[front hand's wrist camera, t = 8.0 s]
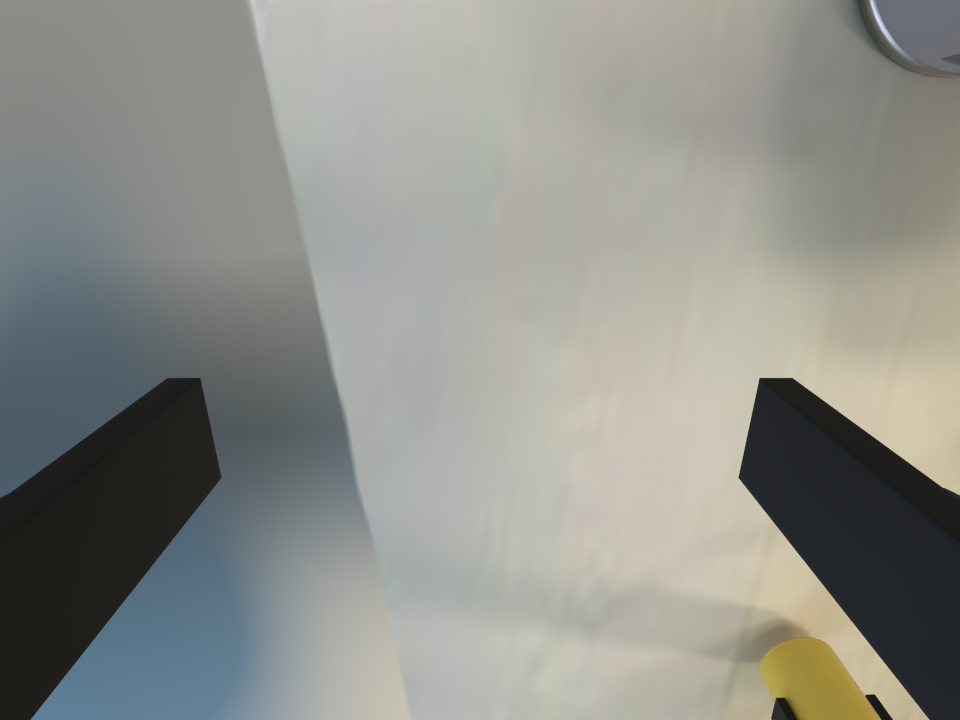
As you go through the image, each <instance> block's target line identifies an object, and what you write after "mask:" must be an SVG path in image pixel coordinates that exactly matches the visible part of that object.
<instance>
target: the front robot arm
mask: <svg viewBox="0 0 960 720" xmlns="http://www.w3.org/2000/svg"><path fill="white" fill-rule="evenodd" d="M857 1H858V5H859V9H860V12H861V15H862V18H863V21H864V23H865V25H866V28H867V30H868V32H869V34H870V35H871V37H872V38H873V40H874V41H875V43H876V44H877V45H878V46H879V48H880V49H881V50H882V51H883V52H884V53H885V54H886V55H887V56H888V57H889V58H890V59H892V60H893V61H895V62H896V63H897V64H899V65H901V66H902V67H904V68H906V69H908V70H911V71H913V72H916V73H919V74H923V75H927V76H934V77H958V76H960V0H857ZM220 479H221V474H220V469H219V464H218V460H217V455H216V450H215V446H214V441H213V436H212V431H211V426H210V422H209V417H208V412H207V407H206V403H205V398H204V393H203V389H202V384H201V379H200V378H167V379H166V380H164V381H163V382H162V383H160V384H159V385H158V386H156V387H155V388H153V389H152V390H151V391H149V392H148V393H147V394H145V395H144V396H143V397H141V398H140V399H138V400H137V401H136V402H134V403H133V404H132V405H130V406H129V407H127V408H126V409H125V410H123V411H122V412H121V413H119V414H118V415H116V416H115V417H114V418H112V419H111V420H110V421H108V422H107V423H105V424H104V425H103V426H101V427H100V428H99V429H97V430H96V431H95V432H93V433H92V434H90V435H89V436H88V437H86V438H85V439H84V440H82V441H81V442H79V443H78V444H77V445H75V446H74V447H73V448H71V449H70V450H68V451H67V452H66V453H64V454H63V455H62V456H60V457H59V458H58V459H56V460H55V461H54V462H52V463H51V464H49V465H48V466H47V467H45V468H44V469H42V470H41V471H40V472H38V473H37V474H36V475H34V476H33V477H32V478H30V479H29V480H27V481H26V482H25V483H23V484H22V485H21V486H19V487H18V488H16V489H15V490H14V491H12V492H11V493H9V494H7V495H5V496H3V497H1V498H0V720H31V718H32V717H33V716H34V715H35V713H36V712H37V711H38V709H39V708H40V707H41V706H42V704H43V703H44V702H45V701H46V699H47V698H48V697H49V696H50V694H51V693H52V692H53V690H54V689H55V688H56V687H57V685H58V684H59V683H60V682H61V680H62V679H63V678H64V676H65V675H66V674H67V673H68V671H69V670H70V669H71V668H72V666H73V665H74V664H75V663H76V661H77V660H78V659H79V658H80V656H81V655H82V654H83V652H84V651H85V650H86V649H87V647H88V646H89V645H90V644H91V642H92V641H93V640H94V639H95V637H96V636H97V635H98V633H99V632H100V631H101V630H102V628H103V627H104V626H105V624H106V623H107V622H108V621H109V620H110V618H111V617H112V616H113V614H114V613H115V612H116V611H117V609H118V608H119V607H120V606H121V604H122V603H123V602H124V601H125V599H126V598H127V597H128V595H129V594H130V593H131V592H132V590H133V589H134V588H135V587H136V585H137V584H138V583H139V582H140V580H141V579H142V578H143V576H144V575H145V574H146V573H147V571H148V570H149V569H150V568H151V566H152V565H153V564H154V562H155V561H156V560H157V559H158V557H159V556H160V555H161V554H162V552H163V551H164V550H165V548H166V547H167V546H168V545H169V544H170V542H171V541H172V540H173V538H174V537H175V536H176V535H177V533H178V532H179V531H180V530H181V528H182V527H183V526H184V524H185V523H186V522H187V521H188V519H189V518H190V517H191V516H192V514H193V513H194V512H195V511H196V509H197V508H198V507H199V505H200V504H201V503H202V502H203V500H204V499H205V498H206V497H207V495H208V494H209V493H210V492H211V490H212V489H213V488H214V486H215V485H216V484H217V483H218V481H219V480H220ZM739 479H740V480H741V481H742V483H743V484H744V485H745V486H746V488H747V489H748V490H749V492H750V493H751V494H752V495H753V497H754V498H755V499H756V500H757V502H758V503H759V504H760V505H761V507H762V508H763V509H764V511H765V512H766V513H767V514H768V516H769V517H770V518H771V519H772V521H773V522H774V523H775V525H776V526H777V527H778V528H779V530H780V531H781V532H782V533H783V535H784V536H785V537H786V538H787V540H788V541H789V542H790V544H791V545H792V546H793V547H794V549H795V550H796V551H797V552H798V554H799V555H800V556H801V557H802V559H803V560H804V561H805V563H806V564H807V565H808V566H809V568H810V569H811V570H812V571H813V573H814V574H815V575H816V576H817V578H818V579H819V580H820V582H821V583H822V584H823V585H824V587H825V588H826V589H827V590H828V592H829V593H830V594H831V595H832V597H833V598H834V599H835V601H836V602H837V603H838V604H839V606H840V607H841V608H842V609H843V611H844V612H845V613H846V614H847V616H848V617H849V618H850V620H851V621H852V622H853V623H854V625H855V626H856V627H857V628H858V630H859V631H860V632H861V633H862V635H863V636H864V637H865V639H866V640H867V641H868V642H869V644H870V645H871V646H872V647H873V649H874V650H875V651H876V652H877V654H878V655H879V656H880V658H881V659H882V660H883V661H884V663H885V664H886V665H887V666H888V668H889V669H890V670H891V671H892V673H893V674H894V675H895V677H896V678H897V679H898V680H899V682H900V683H901V684H902V685H903V687H904V688H905V689H906V690H907V692H908V693H909V694H910V696H911V697H912V698H913V699H914V701H915V702H916V703H917V704H918V706H919V707H920V708H921V709H922V711H923V712H924V713H925V715H926V716H927V717H928V718H929V720H960V495H958V494H956V493H954V492H952V491H950V490H947V489H945V488H942V487H941V486H939V485H938V484H937V483H935V482H934V481H933V480H931V479H930V478H929V477H927V476H926V475H924V474H923V473H922V472H920V471H919V470H918V469H916V468H915V467H913V466H912V465H911V464H909V463H908V462H907V461H905V460H904V459H902V458H901V457H900V456H898V455H897V454H896V453H894V452H893V451H892V450H890V449H889V448H887V447H886V446H885V445H883V444H882V443H881V442H879V441H878V440H876V439H875V438H874V437H872V436H871V435H870V434H868V433H867V432H865V431H864V430H863V429H861V428H860V427H859V426H857V425H856V424H855V423H853V422H852V421H850V420H849V419H848V418H846V417H845V416H844V415H842V414H841V413H839V412H838V411H837V410H835V409H834V408H833V407H831V406H830V405H828V404H827V403H826V402H824V401H823V400H822V399H820V398H819V397H818V396H816V395H815V394H813V393H812V392H811V391H809V390H808V389H807V388H805V387H804V386H802V385H801V384H800V383H798V382H797V381H796V380H794V379H793V378H760V379H759V384H758V389H757V393H756V398H755V403H754V407H753V412H752V417H751V422H750V426H749V431H748V436H747V441H746V445H745V450H744V455H743V459H742V464H741V469H740V474H739Z"/></svg>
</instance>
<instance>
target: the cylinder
mask: <svg viewBox="0 0 960 720" xmlns="http://www.w3.org/2000/svg"><path fill="white" fill-rule="evenodd" d="M760 675H761V677H762V679H763V681H764V683H765V685H766V687H767V689H768V691H769V692H770V694H771V696H772V698H773V700H774V702H775V700H776V698H784V697H785V699H786V701H787V702H788V704H789V706H790V708H791V710H792V712H793V713H794V715H795V717H796V719H797V720H882V719H881V718H880V716H879V715H878V714H877V712H876V711H875V709H874V708H873V706H872V705H871V704H870V702H869V701H868V699H867V698H866V696H865V695H864V694H863V692H862V691H861V689H860V688H859V686H858V685H857V684H856V682H855V681H854V679H853V678H852V676H851V675H850V674H849V672H848V671H847V669H846V668H845V666H844V665H843V663H842V662H841V661H840V659H839V658H838V656H837V655H836V653H835V652H834V651H833V649H832V648H831V647H830V646H829V645H828V644H827V643H825V642H824V641H821V640H819V639H815V638H806V637H804V638H795V639H790V640H787V641H784V642H782V643H780V644H778V645H776V646H775V647H773V648H772V649H771V650H770V651H768V652H767V654H766V655H765V656H764V657H763V659H762V661H761V664H760Z"/></svg>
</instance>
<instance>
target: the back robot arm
mask: <svg viewBox="0 0 960 720" xmlns="http://www.w3.org/2000/svg"><path fill="white" fill-rule="evenodd" d="M866 698H867V699H868V701H869V702H870V704H871V705H872V706H873V708H874V709H875V711H876V712H877V714H878V715H879V716H880V718H881V719H882V720H893V719H892V718H891V717H890V715H889V714H888V712H887V711H886V710H885V708H884V707H883V705H882V704H881V703H880V701H879V700H878V698H877V697H876V696H875V695H866ZM771 719H772V720H797V719H796V717H795V715H794V713H793V712H792V710H791V708H790V706H789V704H788V702H787V701H786V699H785V697H784V698H776V700H775V705H774V709H773V713H772V718H771Z"/></svg>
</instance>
